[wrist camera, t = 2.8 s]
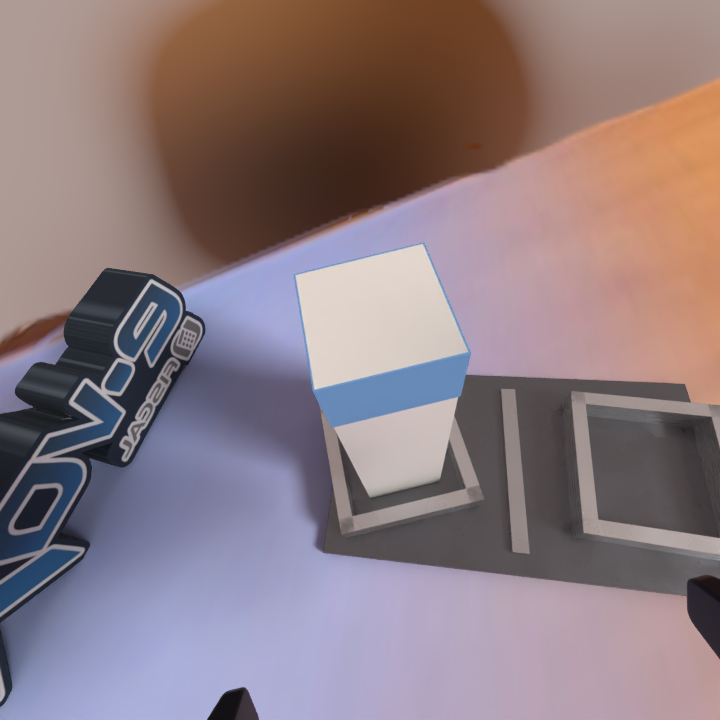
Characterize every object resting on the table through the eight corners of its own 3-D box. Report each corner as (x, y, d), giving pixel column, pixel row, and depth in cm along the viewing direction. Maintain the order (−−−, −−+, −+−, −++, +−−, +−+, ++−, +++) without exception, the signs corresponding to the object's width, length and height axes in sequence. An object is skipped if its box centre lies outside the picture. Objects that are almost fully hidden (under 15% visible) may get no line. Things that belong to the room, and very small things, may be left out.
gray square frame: (478, 506, 22) (484, 499, 20) (347, 538, 22) (341, 534, 20) (437, 388, 25) (439, 373, 23) (325, 416, 25) (319, 402, 24)
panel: (325, 553, 21) (322, 552, 21) (350, 373, 27) (348, 368, 26) (747, 603, 18) (761, 603, 17) (679, 387, 23) (687, 381, 23)
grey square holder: (735, 565, 19) (769, 562, 17) (568, 537, 20) (583, 532, 18) (698, 420, 22) (723, 405, 21) (559, 405, 24) (570, 390, 22)
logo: (3, 710, 20) (-316, 804, 11) (-44, 686, 20) (-376, 757, 12) (209, 328, 30) (127, 226, 22) (173, 322, 31) (81, 221, 23)
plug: (440, 481, 22) (471, 353, 10) (369, 499, 22) (312, 392, 10) (414, 398, 25) (413, 217, 13) (351, 414, 25) (289, 248, 13)
